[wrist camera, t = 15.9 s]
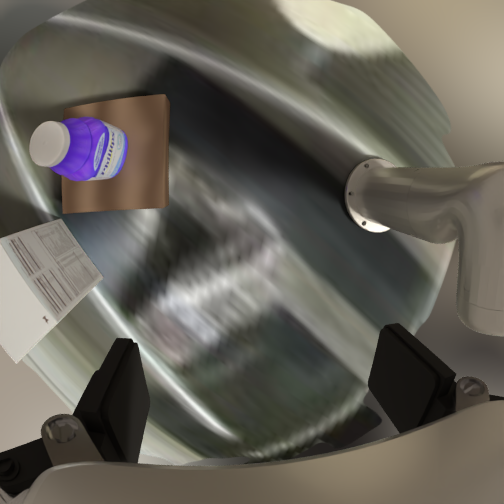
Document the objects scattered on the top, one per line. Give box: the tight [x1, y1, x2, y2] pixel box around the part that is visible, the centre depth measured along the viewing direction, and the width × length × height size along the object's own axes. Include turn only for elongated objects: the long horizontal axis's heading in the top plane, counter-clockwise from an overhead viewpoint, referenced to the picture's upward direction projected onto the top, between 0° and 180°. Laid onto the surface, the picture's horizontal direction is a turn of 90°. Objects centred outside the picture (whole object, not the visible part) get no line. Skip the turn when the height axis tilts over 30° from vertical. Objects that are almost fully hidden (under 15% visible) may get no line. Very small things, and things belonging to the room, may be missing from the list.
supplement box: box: [0, 219, 103, 363], centre depth 35 cm, size 13×13×18 cm
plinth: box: [62, 94, 170, 214], centre depth 38 cm, size 16×16×5 cm
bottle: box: [29, 117, 128, 181], centre depth 27 cm, size 7×6×17 cm
